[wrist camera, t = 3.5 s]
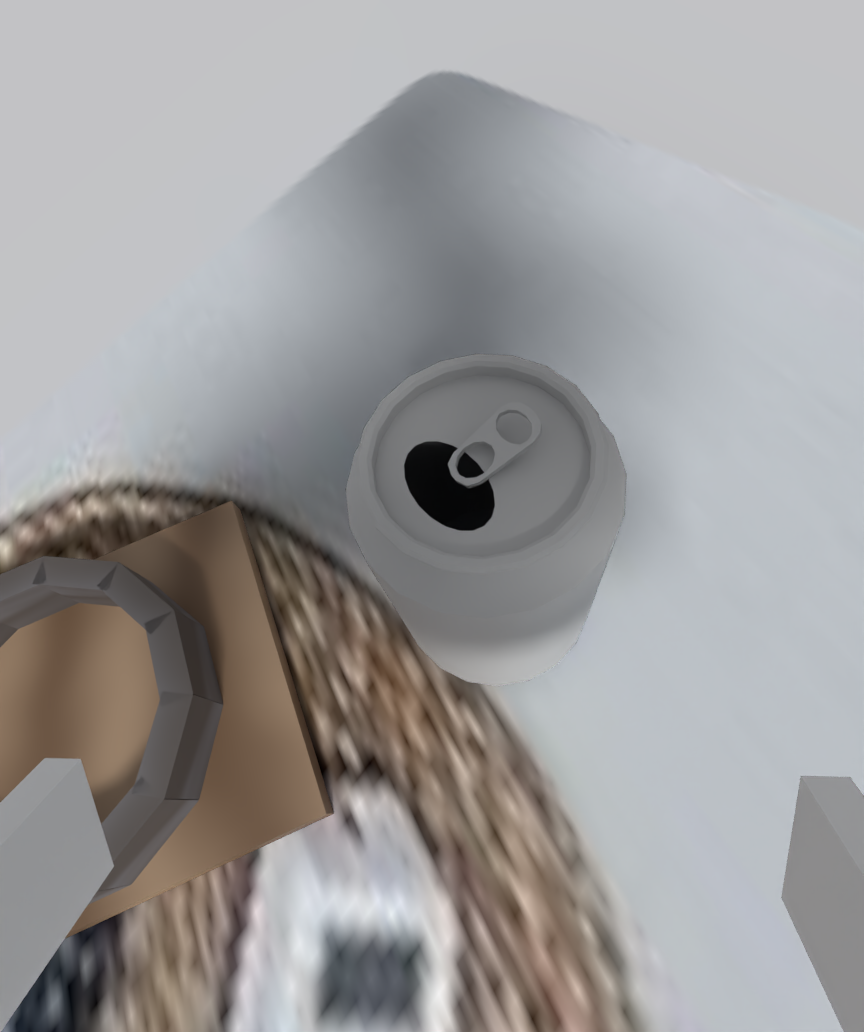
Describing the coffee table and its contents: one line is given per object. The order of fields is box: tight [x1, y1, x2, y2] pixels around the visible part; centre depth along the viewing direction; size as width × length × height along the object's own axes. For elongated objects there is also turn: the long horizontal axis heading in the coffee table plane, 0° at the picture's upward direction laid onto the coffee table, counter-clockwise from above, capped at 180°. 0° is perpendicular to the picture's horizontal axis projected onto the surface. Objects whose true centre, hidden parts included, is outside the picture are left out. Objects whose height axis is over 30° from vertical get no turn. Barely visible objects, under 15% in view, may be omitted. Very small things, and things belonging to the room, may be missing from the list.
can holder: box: [0, 501, 334, 938], centre depth 24 cm, size 18×14×4 cm
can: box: [346, 354, 626, 686], centre depth 20 cm, size 8×8×12 cm
